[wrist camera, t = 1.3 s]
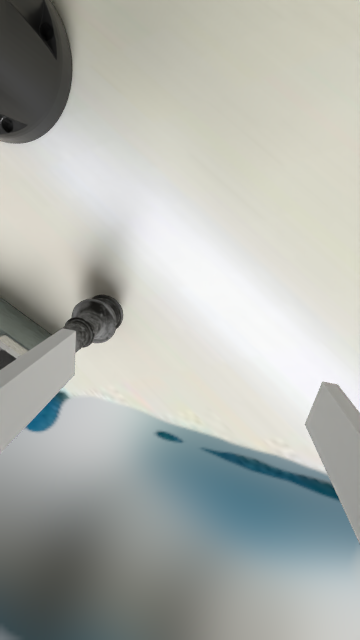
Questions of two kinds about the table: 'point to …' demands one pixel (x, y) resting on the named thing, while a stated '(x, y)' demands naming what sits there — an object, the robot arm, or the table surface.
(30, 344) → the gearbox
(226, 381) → the table surface
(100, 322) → the dark grey tapered piece
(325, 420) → the robot arm
